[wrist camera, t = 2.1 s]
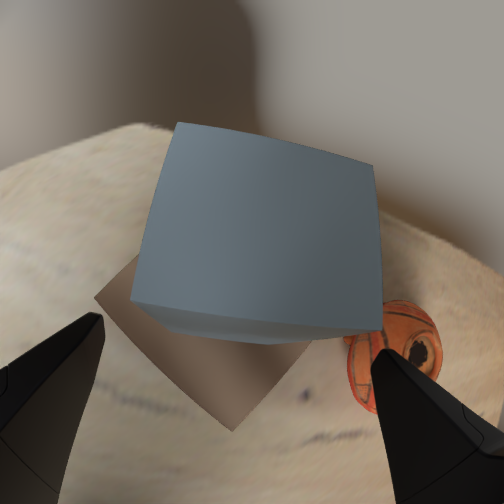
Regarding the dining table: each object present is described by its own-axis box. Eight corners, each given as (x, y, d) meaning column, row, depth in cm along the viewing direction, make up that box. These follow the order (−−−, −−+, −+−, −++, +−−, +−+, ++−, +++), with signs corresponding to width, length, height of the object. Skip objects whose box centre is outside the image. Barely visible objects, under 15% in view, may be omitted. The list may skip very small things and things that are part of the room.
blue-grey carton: (267, 344, 18) (382, 330, 7) (171, 332, 17) (130, 300, 6) (274, 265, 20) (371, 159, 8) (184, 251, 19) (179, 116, 8)
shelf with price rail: (229, 427, 17) (239, 446, 13) (98, 300, 18) (77, 287, 14) (335, 304, 21) (364, 293, 17) (215, 193, 22) (220, 162, 18)
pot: (383, 282, 22) (451, 278, 15) (404, 363, 22) (466, 375, 16) (303, 331, 19) (370, 347, 13) (336, 417, 19) (396, 450, 13)
